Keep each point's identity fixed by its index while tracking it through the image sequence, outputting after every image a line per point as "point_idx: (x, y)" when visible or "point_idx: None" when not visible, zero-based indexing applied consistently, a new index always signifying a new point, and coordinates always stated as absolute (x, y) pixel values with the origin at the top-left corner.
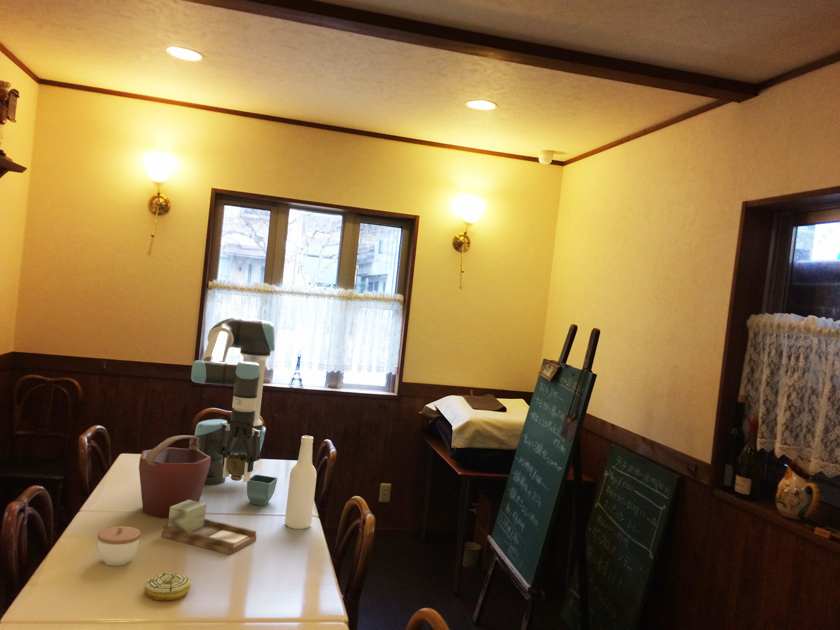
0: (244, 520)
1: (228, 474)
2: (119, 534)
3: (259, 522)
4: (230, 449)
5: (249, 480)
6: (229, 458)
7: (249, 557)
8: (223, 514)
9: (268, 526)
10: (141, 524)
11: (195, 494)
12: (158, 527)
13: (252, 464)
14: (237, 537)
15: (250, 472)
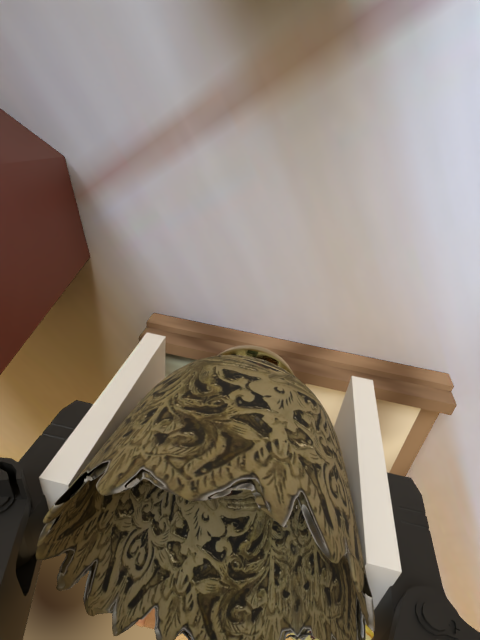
0: (326, 174)
1: (158, 360)
2: (153, 616)
3: (413, 164)
4: (2, 637)
5: (372, 384)
6: (86, 505)
7: (456, 489)
8: (194, 140)
9: (477, 201)
10: (43, 368)
11: (35, 247)
12: (96, 373)
13: (425, 574)
14: (385, 427)
15: (381, 439)
